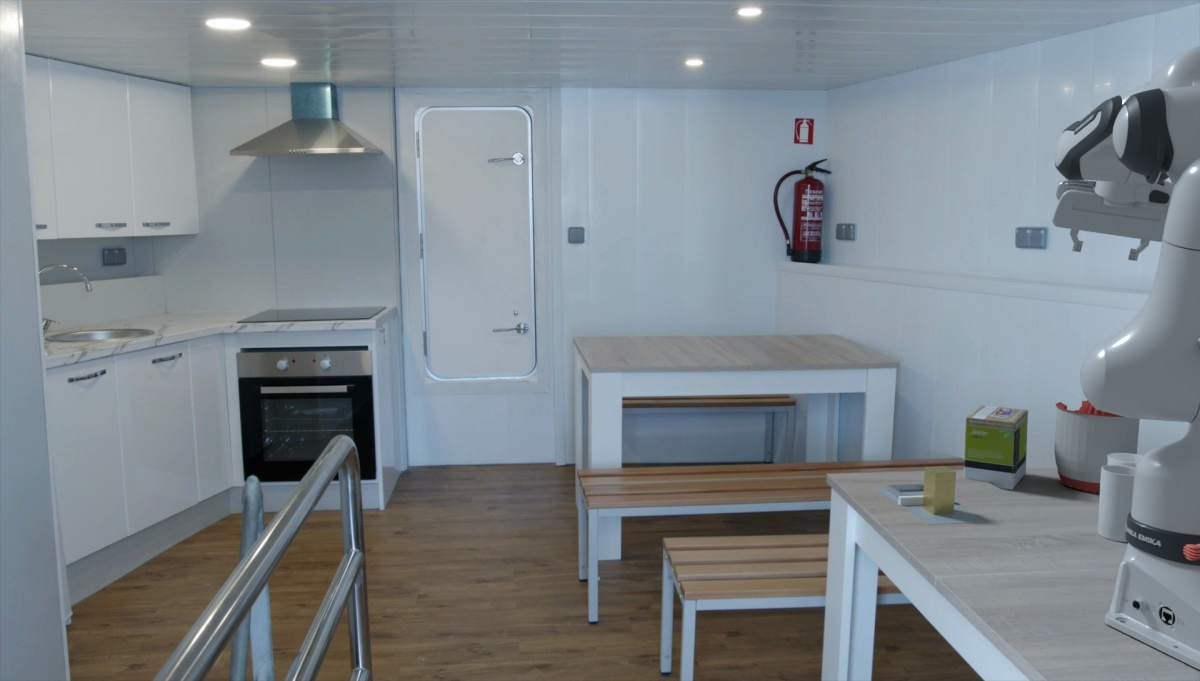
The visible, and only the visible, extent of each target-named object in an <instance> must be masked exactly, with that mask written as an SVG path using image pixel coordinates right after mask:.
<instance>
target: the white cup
mask: <svg viewBox="0 0 1200 681" xmlns="http://www.w3.org/2000/svg"><path fill="white" fill-rule="evenodd" d="M1143 455H1144V454H1143ZM1143 455H1141V454H1138V453H1137V454H1130V453H1111V454H1108V455H1107V465H1121V466H1129V467H1134V468H1135V466H1136V464H1137V462H1138V461H1139V459H1140V458H1141V457H1142V456H1143Z"/></svg>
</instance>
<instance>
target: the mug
mask: <svg viewBox="0 0 1200 681" xmlns="http://www.w3.org/2000/svg"><path fill="white" fill-rule="evenodd" d="M1134 470H1135V468H1134V467H1129V466H1121V465H1106V466H1102V467H1101V481H1100V492H1099V502H1098V504H1099V506H1098V523H1097V524H1098V525H1097V526H1098V528H1097V533H1098V535H1099V536H1101V537H1102V538H1105V539H1107V540H1110V541H1115V542H1121V543H1122V542H1123V543H1128V542H1127V540H1126V539H1125V533H1126V529H1125V524H1126V523H1127V516H1128V514H1129V513H1130V512H1131V509H1132V496H1133V483H1134Z"/></svg>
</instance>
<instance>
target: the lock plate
mask: <svg viewBox="0 0 1200 681" xmlns="http://www.w3.org/2000/svg"><path fill="white" fill-rule="evenodd" d="M875 490H876V491H878V492H879V493H880V494H883V495H884V496H885V497H887V498H888V499H890V500H892V501H893V502H894V503H896V504H897V505H899V506H900V507H902V508H903V509H904V510H906V511H908V512H909V513H910V514H912V515H913V516H915V517H916V518H918V519H920V520H921V521H923V522H924V523H926V524H927V525H931V526H932V525H949V524H950V525H951V524H953V525H954V524H973V523H974V524H976V523H977V524H978V523H987V521H985V520H984V519H982V518H980V517H979V516H977V515H975V514H973V513H972V512H970V511H969V510H966V509H965V508H963V507H962V506H960V505H958V504H956V503H955V502H954V514H939V515H933V514H931V513H930V512H928V511H927V510H925V509H924V508H923V494H924V492H923V491H921V490H918V491H900V492H902V493H903V494H905V495H918V496H898V498H897V497H895V496H894V495H892V494H891V493H889V492H888V491H887V487H884V488H875ZM954 501H955V498H954Z"/></svg>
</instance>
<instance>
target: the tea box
mask: <svg viewBox="0 0 1200 681" xmlns="http://www.w3.org/2000/svg"><path fill="white" fill-rule="evenodd" d="M1028 422H1029V410H1028V409H1022V408H1021V409H1020V408H1012V407H1010V408H1009V407H1001V406H987V405H983V404H982V405H981V406H979V407H978V408H977V409H975V410H974V411H973V412H972V413H971V414H969V415H968V416H966V417H965V428H964V430H965V435H964V437H965V438H964V454H963V456H964V457H963V459H964V460H963V461H964V463H963V479H966V480H971V481H978V482H984V483H988V484H990V485H992V486H994V487H996V488H999V489H1001V490H1002V489H1003V490H1007V491H1008V490H1013V489H1014V488H1015V487H1016V485H1017V484H1018V483H1019V482H1020V481H1021V480H1022V478H1023V477H1024V476H1025V475H1026V474H1027V454H1028V453H1027V450H1028V449H1027V448H1028V445H1027V443H1028Z"/></svg>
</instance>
